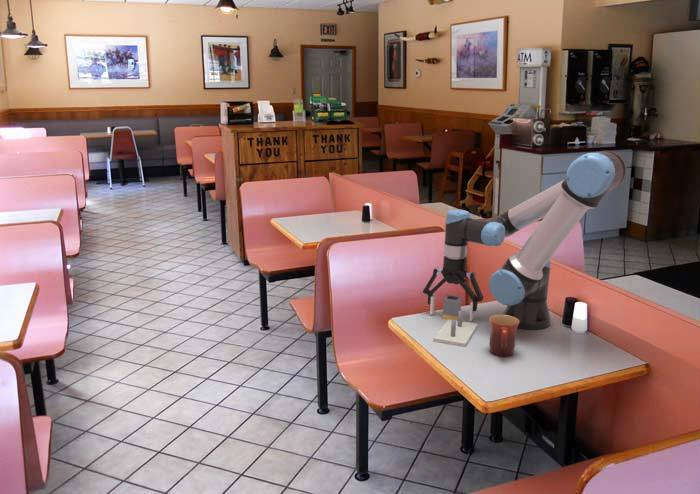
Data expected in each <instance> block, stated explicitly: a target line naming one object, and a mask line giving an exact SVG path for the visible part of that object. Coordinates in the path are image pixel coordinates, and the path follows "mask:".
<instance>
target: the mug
mask: <svg viewBox="0 0 700 494" xmlns="http://www.w3.org/2000/svg"><path fill="white" fill-rule="evenodd" d="M488 321H489V325H490V334H489V335H490V336H489V345H488V346H489V351H490V353H492V354H494V355H495V354H496V356H498V355H499V356H498V357H509V356H511V355H514V352H515V349H516V340H517V339H516V335H517V330H518V325H519V322H520V321H519V320H518V319H517V318H515V317H512V316H509V315H504V314H494V315H493V314H492V315H490V316H489V318H488Z"/></svg>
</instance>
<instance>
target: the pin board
mask: <svg viewBox="0 0 700 494" xmlns="http://www.w3.org/2000/svg"><path fill="white" fill-rule="evenodd" d="M463 313H464V311H463V310H461V311H458V320H457V321H456V320H449V319H446V321H445V323H444V324H443V325H442V327H440V329H439V330H438V332H436V334H435V336H434V337H433V338H432V340H433V342H435V343H441V344H448V345H453V346H458V347H463V348H464V347H465V348H466V346H467V345H468V344H469V342H470V341H471V339H472V338H473V335H475V332H476V330H477V328H478V327H479V324H478V323H473V322H467V321H463V317H464V316H463Z"/></svg>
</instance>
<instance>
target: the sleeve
mask: <svg viewBox="0 0 700 494" xmlns="http://www.w3.org/2000/svg"><path fill="white" fill-rule="evenodd" d="M462 298H463V297H462V296H460V295H452V294H446V295H445V297H444V298H443V300H442V301H443V302H442V303H443V304H442V319H443V320H448V319H449V320H456V321H458V311H462V310H461V309H462Z"/></svg>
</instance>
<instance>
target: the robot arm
mask: <svg viewBox="0 0 700 494" xmlns="http://www.w3.org/2000/svg"><path fill="white" fill-rule="evenodd" d="M627 170H628V169H627V164H626V162H625V160H624V157H622V156H621V155H620V154H619V153H617V152H615V151H613V150H612V151H611V150H600V151H597V152H588V153H585V154H582V155H581V156H579V157H577V158H576V159H574V160H573V161H572V162H571V163H570V165H569V166H568V168H567V171H566V174H565V179H563V180H561V181H559V182H558V183H555V184H554V185H552V186H550V187H549V188H547V189H545V190H543V191H541V192H540V193H538V194H535V195H533V196H532V197H529V198H528V199H526V200H525V201H523V202H521V203H519V204H518V205H516V206H514V207H512V208H510V209H508V210H506V211H505V212H503V213H501V214H499V215H497V216H495V217H491V218H488V219H484V220H483V219H475V218H472V217H470V212H469V211H467V210H464V209H451V210H448V211H447V212H446V217H445V224H444V225H445V231H444V232H445V233H444V247H443V255H444V256H443V265H442V269H441V268H439V267H438V266H437V267H435V268H434V269H433V271H432V275H431V277H430V279H429V280H428V282H427V283H426V286H425V287H424V288H423V290H422V293H423V294H425V295H427V304H428V305H429V306H430V308H429V309H430V310H429V315H431V316H432V315H434V313H435V303H436V294H434V293H435V292H437V291H438V289H439V288H441V287H442V285H444V284H445V283H446V282H447V283H448V284H450V285H451V284H453V285H460V286H461V288H463V290H464V291H465V292H466V295H468V297H469V298H470V300H471V301H470V304H469V305H470V307H469V322H473V320H474V313H475V312H477V310H478V302H479V303H480V302H482V301H483V300H484V296H483V292H482V291H481V288H480V285H479V283H478V281H477V279H476V272H475V271H472V272H467V256H468V244H469V243H468V242H470V243H475V244H479V245H485V246H488V247H499V246H501V245H502V243H504V240H505V238H508V237H510V236H512V235H514V234H516V232H519V231H520V230H522V229H524V228H526V227H528V226H530V225H532V224H535V223H536V222H538V221H540V220H541V221H540V222H539V224H538V226H537V227H535V228H534V231H532V233H531V235H530V236H529V237H528V239H527V240H526V242H525V243H524V245H523V246H522V247H521V249H520V250H519V251H518V252H517V253H512V254H510V255H509V256H508V258H507V260H506V261H504V264H503V265H502V266H501V268H499V269H497V270H495V272H493V273H492V274H491V276H490V278H489V281H488V287H489V292H490V294H491V296H492V297H493V299H494V300H495V301H496V302H498V303H499V304H500V305H501V304H502V305H505V306H506V307H505V310H504V312H503V315H509V316H512V317H515V318H517V319H518V320H519V321H520V322H519V325H518V327H517V329H518V328H519V329H523V330H524V329H525V330H543V329H546V328H549V326H550V325H551V315H550V311H549V307H548V302H547V301H548V292H549V283H550V273H551V260H550V259H551V258H552V257H553V255H554V254H555V253H556V252H557V250H558V249H559V248H560V246H561V245H562V244H563V242H564V241H565V240H566V239H567V237H568V236H569V235H570V234H571V232H572V231H573V229H575V227H576V225H577V224H578V223H579V221H580V220H581V219H582V218H583V216H584V215H585V214H586V213H587V211H588V210H591V209H592V210H593V209H596V208H597V207H598V206H599V204H600V203H601V202H602V201H603V199H604V198H605V197H606V195H608V193H609V192H610V191H612V190H614V189H616V188H617V187H619V186H620V185H621V184H623V182H624V181H625V179H626V176H627V172H628V171H627ZM440 274H441V275H442V276H443V278H442V279H441V280H440V281H439V282H438V283H437V284H436V285H435V286H434V287H433V288H432V289H431V286H433V285H432V284H433V283H434V282H435V280H436V278H437V276H439V275H440ZM466 277H467V278H468V279H469V281H470V283H471V286H472V288H473V290H472V288H471V286H470V285H469V284H468V282H467V280H466Z"/></svg>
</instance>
